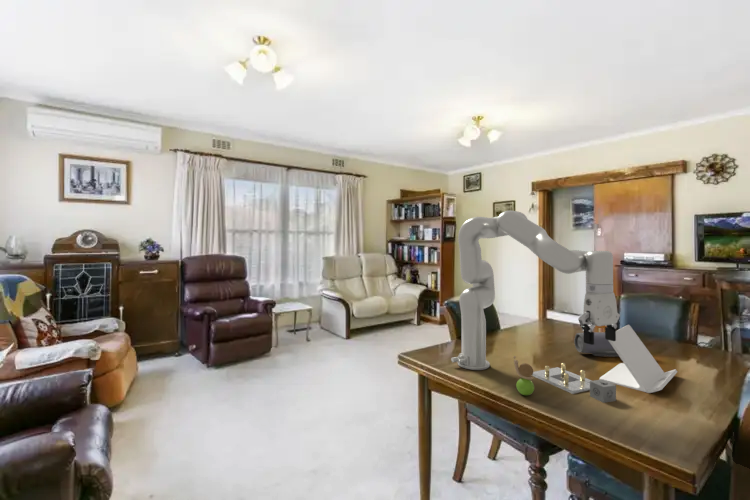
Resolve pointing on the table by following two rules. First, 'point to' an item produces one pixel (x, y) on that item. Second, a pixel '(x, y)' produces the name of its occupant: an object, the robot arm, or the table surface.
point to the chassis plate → (564, 379)
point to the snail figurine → (524, 378)
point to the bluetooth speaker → (595, 345)
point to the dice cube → (603, 391)
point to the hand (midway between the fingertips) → (599, 341)
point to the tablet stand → (636, 364)
